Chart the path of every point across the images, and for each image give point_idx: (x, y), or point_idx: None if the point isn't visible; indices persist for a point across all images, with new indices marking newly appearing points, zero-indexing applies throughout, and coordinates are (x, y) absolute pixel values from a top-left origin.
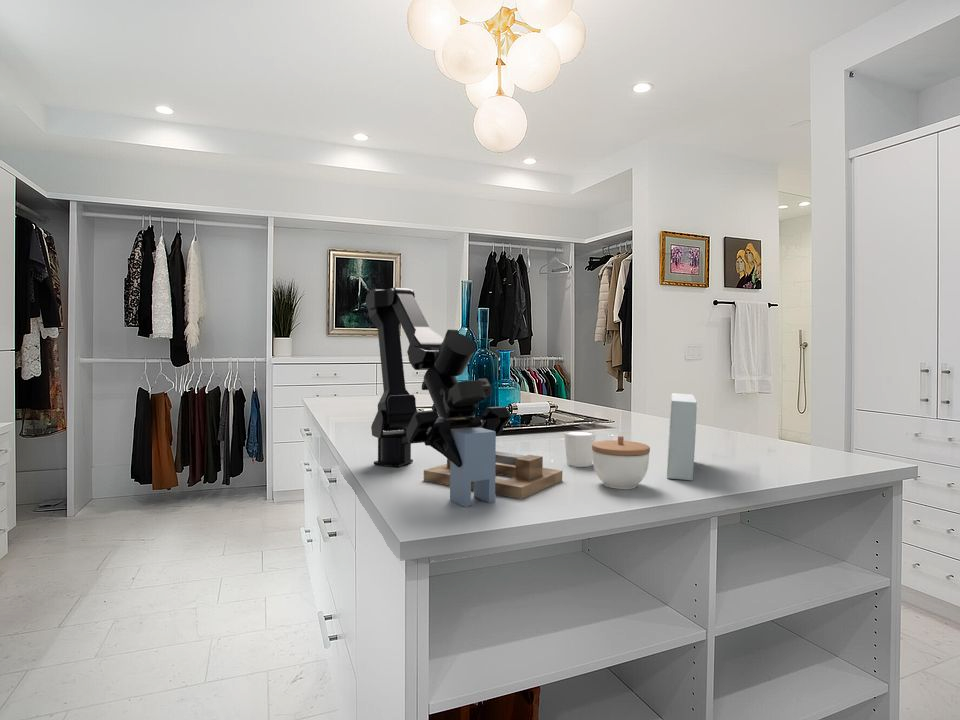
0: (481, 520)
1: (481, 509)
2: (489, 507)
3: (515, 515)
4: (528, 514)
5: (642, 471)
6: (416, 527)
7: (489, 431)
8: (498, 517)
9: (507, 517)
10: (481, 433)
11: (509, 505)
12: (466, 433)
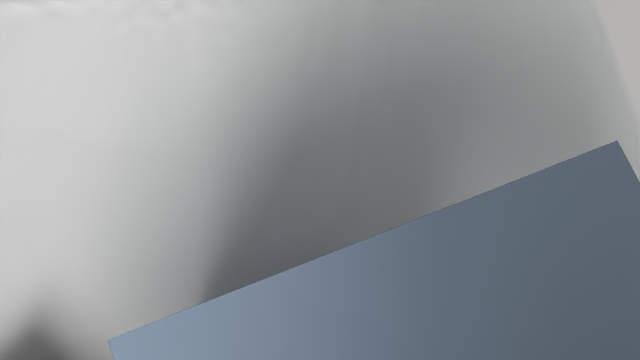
0: (318, 67)
1: (290, 209)
2: (246, 234)
3: (159, 97)
4: (94, 98)
5: None
6: (548, 47)
7: (227, 352)
8: (241, 87)
9: (203, 80)
10: (383, 235)
11: (136, 251)
12: (601, 199)
